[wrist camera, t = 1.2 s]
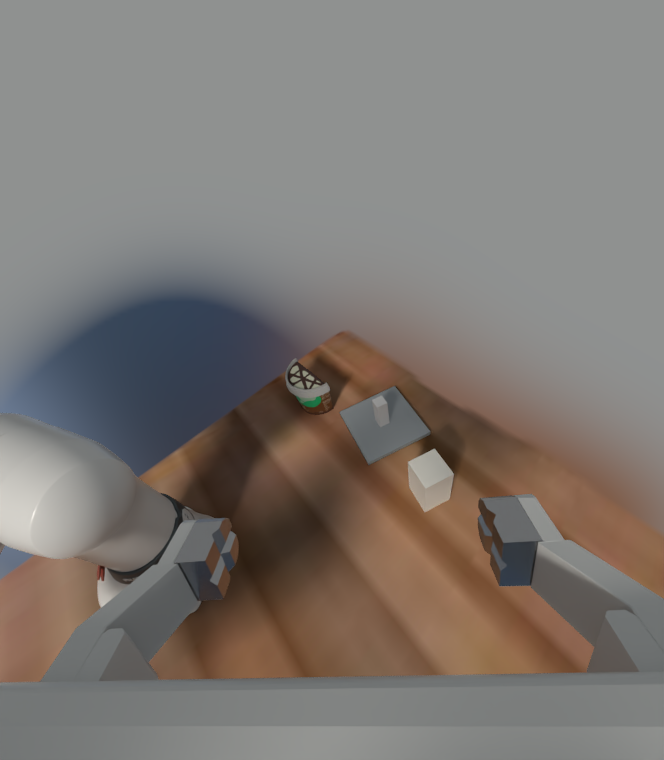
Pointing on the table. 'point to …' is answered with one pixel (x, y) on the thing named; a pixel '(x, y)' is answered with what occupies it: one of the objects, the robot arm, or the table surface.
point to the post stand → (383, 424)
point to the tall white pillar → (430, 479)
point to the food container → (308, 389)
